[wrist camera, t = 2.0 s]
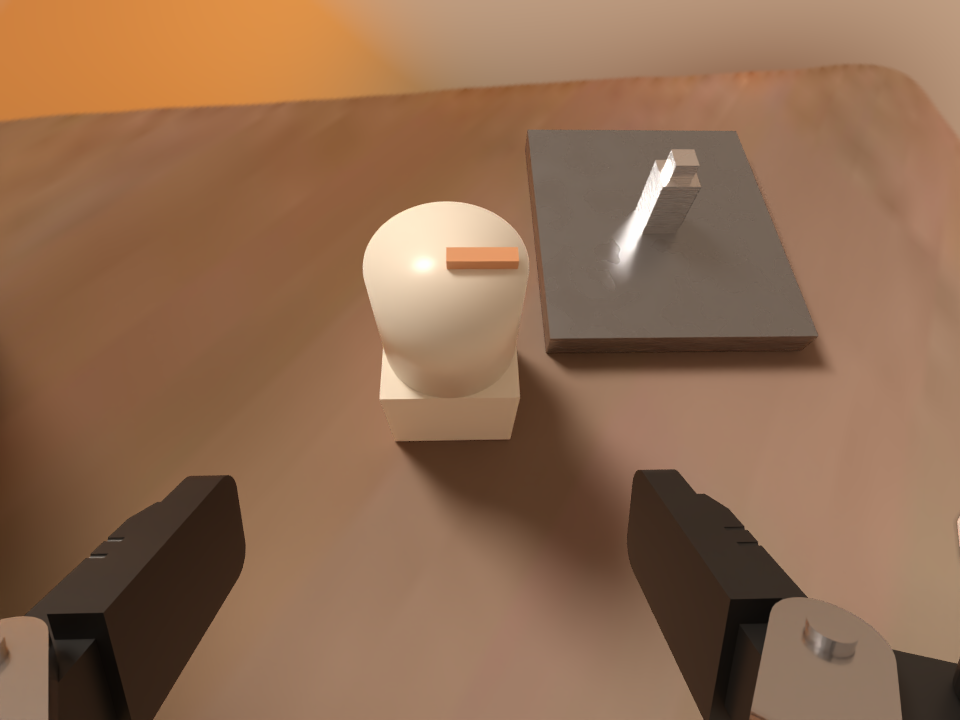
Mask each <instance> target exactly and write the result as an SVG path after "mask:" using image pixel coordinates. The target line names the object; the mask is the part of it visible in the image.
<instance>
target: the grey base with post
mask: <svg viewBox="0 0 960 720" xmlns="http://www.w3.org/2000/svg"><path fill="white" fill-rule="evenodd" d="M525 152H526V161H527V171H528V181H529V191H530V200H531V210H532V220H533V230H534V239H535V249H536V259H537V269H538V278H539V288H540V298H541V308H542V317H543V327H544V337H545V347H546V353H586V352H681V351H777V350H802V349H804V348H805V347H806V346H807V345H808V344H810V343H811V342H812V341H813V340H814V339H816V338H817V337H818V334H817V331H816V329H815V326H814V324H813V321H812V319H811V316H810V314H809V311H808V309H807V306H806V304H805V301H804V299H803V296H802V294H801V292H800V289H799V287H798V284H797V282H796V279H795V277H794V274H793V272H792V269H791V267H790V264H789V262H788V259H787V257H786V254H785V252H784V249H783V247H782V244H781V242H780V239H779V237H778V234H777V232H776V230H775V227H774V225H773V222H772V220H771V217H770V215H769V212H768V210H767V207H766V205H765V202H764V200H763V197H762V195H761V192H760V190H759V187H758V185H757V182H756V180H755V177H754V175H753V172H752V170H751V167H750V165H749V163H748V160H747V158H746V155H745V153H744V150H743V148H742V145H741V143H740V140H739V138H738V135H737V133H736V131H640V130H528V131H527V139H526V147H525Z"/></svg>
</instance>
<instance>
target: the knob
mask: <svg viewBox="0 0 960 720" xmlns="http://www.w3.org/2000/svg"><path fill="white" fill-rule="evenodd" d="M363 275H364V281H365V284H366V288H367V291H368V295H369V299H370V302H371V306H372V309H373V313H374V316H375V320H376V323H377V327H378V330H379V334H380V337H381V341H382V344H383V359H382V372H381V386H380V402H381V405H382V408H383V410H384V413H385V416H386V419H387V421H388V424H389V427H390V430H391V432H392V435H393V438H394V440H395V441H441V440H500V439H510V438H511V434H512V429H513V425H514V421H515V417H516V413H517V409H518V404H519V400H520V388H519V374H518V360H517V346H516V342H517V337H518V331H519V326H520V320H521V315H522V309H523V304H524V298H525V293H526V287H527V282H528V276H529V258H528V253H527V250H526V247H525V245H524V243H523V241H522V239H521V237H520V236H519V234H518V233H517V232H516V230H515V229H514V228H513V227H512V226H511V225H510V224H509V223H507V222H506V221H505V220H504V219H503V218H501V217H499V216H498V215H496V214H495V213H493V212H491V211H489V210H486V209H484V208H481V207H478V206H475V205H471V204H467V203H460V202H433V203H427V204H423V205H418V206H415V207H412V208H410V209H407V210H405V211H403V212H401V213H399V214H397V215H396V216H394V217H392V218H391V219H390V220H388V221H387V222H386V223H385V224H383V225H382V226H381V227H380V228H379V229H378V231H377V232H376V233H375V234H374V236H373V237H372V239H371V240H370V242H369V244H368V246H367V249H366V252H365V255H364V260H363Z"/></svg>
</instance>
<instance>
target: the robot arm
mask: <svg viewBox="0 0 960 720" xmlns="http://www.w3.org/2000/svg"><path fill="white" fill-rule="evenodd" d="M627 547H628V555H629V560H630V564H631V567H632V569H633V572H634V574H635V576H636V578H637V580H638V582H639V584H640V586H641V589H642V591H643V593H644V595H645V597H646V599H647V601H648V603H649V605H650V608H651V610H652V612H653V614H654V616H655V618H656V620H657V622H658V624H659V626H660V629H661V631H662V633H663V635H664V637H665V639H666V641H667V643H668V645H669V648H670V650H671V652H672V654H673V656H674V658H675V660H676V662H677V664H678V667H679V669H680V671H681V673H682V675H683V677H684V679H685V681H686V683H687V685H688V688H689V690H690V692H691V694H692V696H693V698H694V700H695V702H696V704H697V707H698V709H699V711H700V713H701V715H702V717H703V719H704V720H960V659H959V662H958V664H956V663H951V662H947V661H942V660H938V659H933V658H928V657H924V656H919V655H915V654H910V653H906V652H901V651H897V650H893V649H891V647H890V645H889V644H888V643H887V641H886V640H885V639H884V638H883V637H882V636H881V635H880V633H879V632H877V631H876V630H875V629H874V628H873V627H872V626H871V625H869V624H868V623H866V622H865V621H864V620H862V619H861V618H859V617H857V616H856V615H854V614H852V613H851V612H849V611H847V610H845V609H843V608H840V607H838V606H836V605H833V604H830V603H827V602H824V601H821V600H816V599H812V598H808V597H807V596H806V595H805V594H804V593H803V592H802V591H801V590H800V588H799V587H798V586H797V585H796V584H795V583H794V582H793V581H792V579H791V578H790V577H789V576H788V575H787V574H786V573H785V572H784V570H783V569H782V568H781V567H780V566H779V565H778V564H777V563H776V561H775V560H774V559H773V558H772V557H771V556H770V555H769V554H768V553H767V551H766V550H765V549H764V548H763V547H762V546H759V545H758V541H757V540H756V539H755V538H754V537H753V536H752V535H751V533H750V532H749V531H748V530H745V529H744V526H743V524H742V523H741V522H740V521H739V520H738V519H737V518H736V517H735V515H734V514H733V513H732V512H731V511H730V510H729V509H728V508H727V507H725V506H723V505H722V504H720V503H719V502H717V501H715V500H714V499H712V498H711V497H709V496H707V495H706V494H696V493H695V491H694V490H693V489H692V488H691V487H690V485H689V484H688V483H687V482H686V481H685V479H684V478H683V477H682V476H681V475H680V473H679V472H678V471H676V470H637V471H636V473H635V475H634V478H633V485H632V494H631V504H630V514H629V524H628V534H627ZM244 559H245V538H244V531H243V525H242V518H241V512H240V505H239V499H238V492H237V486H236V483H235V480H234V479H233V478H232V477H231V476H229V475H220V476H189V477H187V478H185V479H184V480H183V481H182V482H181V483H180V484H179V485H178V486H177V487H176V488H175V489H174V490H173V491H172V492H171V493H170V494H169V495H168V496H167V497H166V498H165V499H164V500H163V501H162V502H156V503H155V504H153V505H151V506H149V507H148V508H146V509H144V510H143V511H141V512H139V513H137V514H136V515H134V516H132V517H130V518H129V519H127V520H126V521H125V522H124V523H123V524H122V525H121V526H120V527H119V528H118V529H117V530H116V531H115V532H114V533H112V534H111V535H110V536H109V537H108V541H104V542H103V543H102V544H101V545H100V546H99V547H97V548H96V549H95V550H94V551H93V552H92V553H91V556H90V558H86V559H85V560H83V561H82V562H81V563H80V564H79V565H78V566H77V567H76V568H75V569H74V570H73V571H72V572H71V573H70V574H68V575H67V576H66V577H65V578H64V579H63V580H62V581H61V582H60V583H59V584H58V585H57V586H56V587H55V588H53V589H52V590H51V591H50V592H49V593H48V594H47V595H46V596H45V597H44V598H43V599H42V600H41V601H40V602H38V603H37V604H36V605H35V606H34V607H33V608H32V609H31V610H30V611H29V612H28V613H27V614H26V615H24V616H20V617H11V618H5V619H1V620H0V720H153V718H154V717H155V715H156V713H157V712H158V710H159V708H160V707H161V705H162V703H163V702H164V700H165V699H166V697H167V695H168V694H169V692H170V690H171V689H172V687H173V685H174V684H175V682H176V680H177V679H178V677H179V675H180V674H181V672H182V670H183V669H184V667H185V665H186V664H187V662H188V660H189V659H190V657H191V655H192V654H193V652H194V650H195V649H196V647H197V645H198V644H199V642H200V641H201V639H202V637H203V636H204V634H205V632H206V631H207V629H208V627H209V626H210V624H211V622H212V621H213V619H214V617H215V616H216V614H217V612H218V611H219V609H220V607H221V606H222V604H223V602H224V601H225V599H226V597H227V596H228V594H229V592H230V591H231V589H232V587H233V586H234V584H235V583H236V581H237V579H238V577H239V576H240V573H241V571H242V568H243V564H244Z"/></svg>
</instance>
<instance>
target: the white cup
mask: <svg viewBox="0 0 960 720" xmlns="http://www.w3.org/2000/svg"><path fill="white" fill-rule="evenodd" d="M957 526H958V536H959V545H960V516H959V518H958V520H957Z"/></svg>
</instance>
